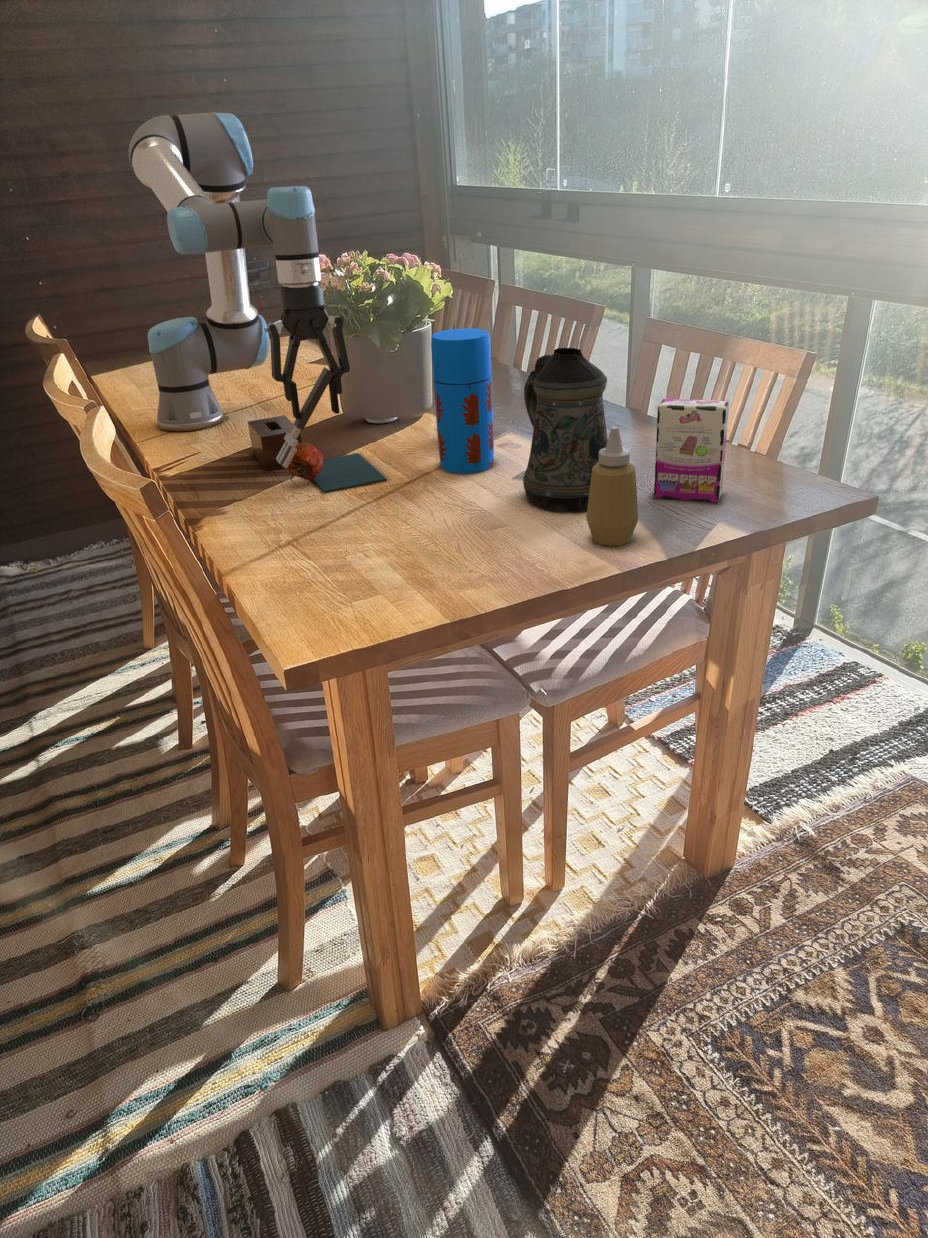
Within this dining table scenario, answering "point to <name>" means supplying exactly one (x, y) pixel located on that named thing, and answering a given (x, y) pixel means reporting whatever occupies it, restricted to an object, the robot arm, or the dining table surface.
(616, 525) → the squeeze bottle
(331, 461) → the mat
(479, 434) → the thermos
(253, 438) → the fork stand
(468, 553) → the dining table surface
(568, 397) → the beer stein
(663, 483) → the candy bar box
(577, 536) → the dining table surface
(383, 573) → the dining table surface
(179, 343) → the robot arm
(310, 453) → the red round fruit
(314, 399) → the fork
